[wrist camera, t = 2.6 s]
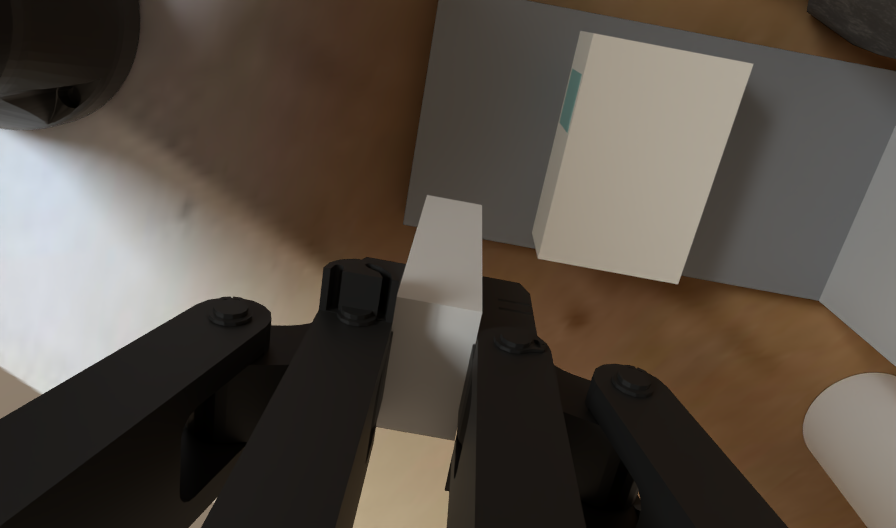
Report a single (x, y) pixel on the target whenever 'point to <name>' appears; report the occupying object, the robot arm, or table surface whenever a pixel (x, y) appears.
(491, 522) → the robot arm
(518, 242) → the grey base with uprights
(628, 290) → the table surface
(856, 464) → the cup
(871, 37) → the hammer
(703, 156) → the carton
